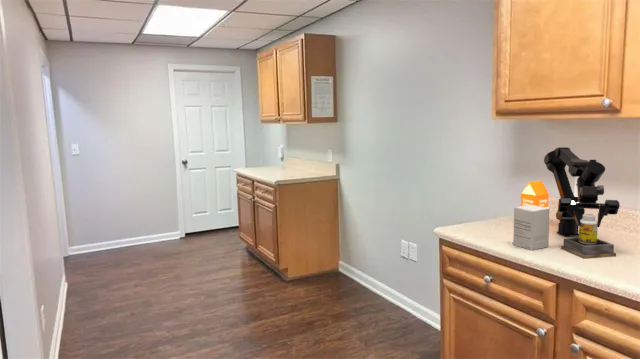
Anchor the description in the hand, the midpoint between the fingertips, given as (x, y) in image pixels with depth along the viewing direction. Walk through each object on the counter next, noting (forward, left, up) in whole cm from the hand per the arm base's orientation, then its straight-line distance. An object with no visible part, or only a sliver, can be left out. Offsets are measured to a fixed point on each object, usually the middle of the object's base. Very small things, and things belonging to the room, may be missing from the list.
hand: (589, 226), depth 156 cm
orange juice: (-6, -42, -10) cm, 44 cm away
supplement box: (+14, -13, -10) cm, 21 cm away
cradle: (-1, -1, -10) cm, 10 cm away
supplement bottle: (-1, -1, -7) cm, 7 cm away
